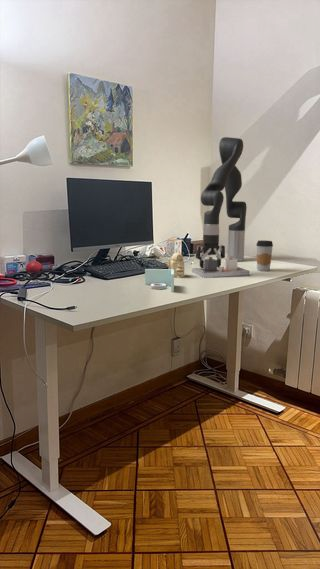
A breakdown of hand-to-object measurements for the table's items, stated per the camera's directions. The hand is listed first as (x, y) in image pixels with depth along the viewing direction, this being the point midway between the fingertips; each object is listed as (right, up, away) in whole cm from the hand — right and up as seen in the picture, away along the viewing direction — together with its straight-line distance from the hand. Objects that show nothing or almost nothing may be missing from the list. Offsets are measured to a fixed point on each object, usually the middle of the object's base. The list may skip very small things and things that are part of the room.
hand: (210, 267), depth 222 cm
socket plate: (+5, -3, +2) cm, 7 cm away
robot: (-16, -5, -7) cm, 19 cm away
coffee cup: (+29, -1, +16) cm, 33 cm away
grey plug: (0, -3, +1) cm, 3 cm away
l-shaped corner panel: (-24, -11, -31) cm, 41 cm away
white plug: (+10, -3, +4) cm, 11 cm away
